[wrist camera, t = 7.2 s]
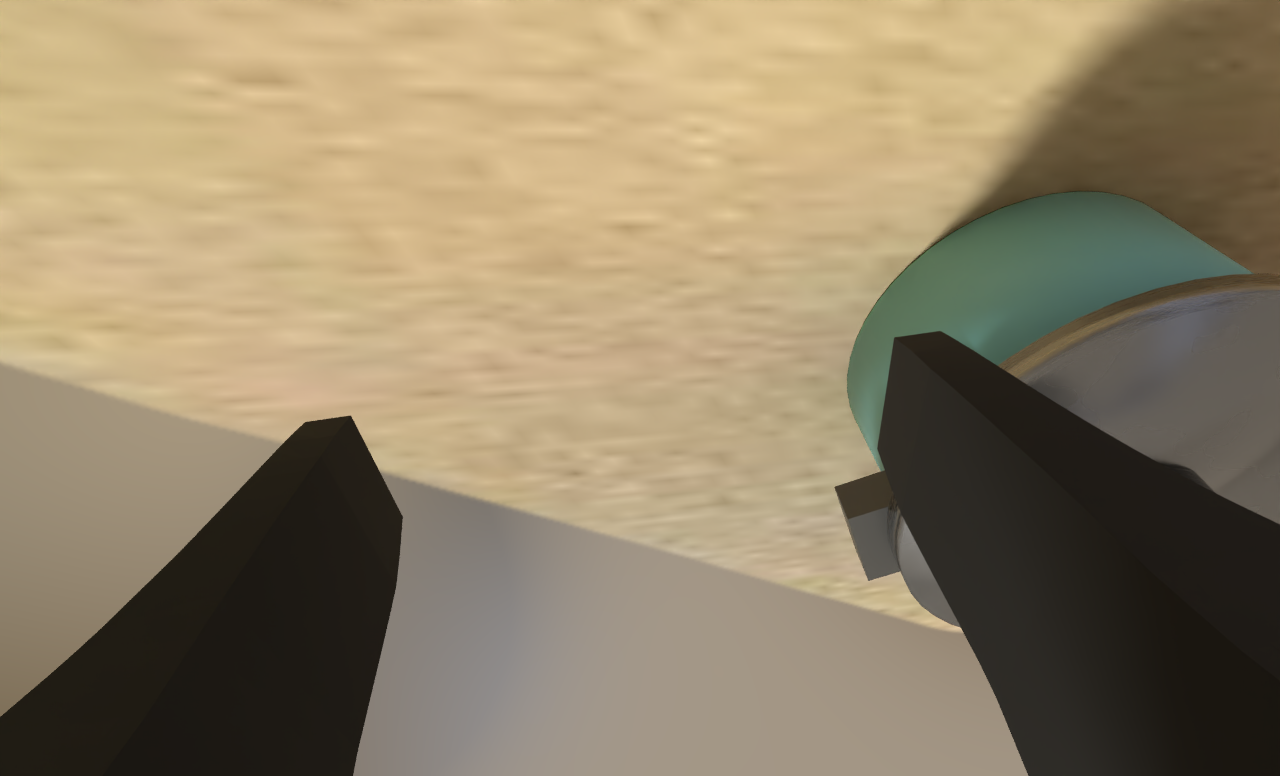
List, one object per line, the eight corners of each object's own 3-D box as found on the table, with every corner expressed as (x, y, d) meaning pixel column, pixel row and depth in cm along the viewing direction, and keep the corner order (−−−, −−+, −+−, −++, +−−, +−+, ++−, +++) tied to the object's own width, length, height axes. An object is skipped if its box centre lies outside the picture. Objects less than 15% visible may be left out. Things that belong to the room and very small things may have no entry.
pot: (1273, 102, 18) (1517, 196, 14) (1218, 390, 25) (1368, 518, 20) (762, 300, 21) (821, 436, 16) (837, 513, 27) (893, 652, 23)
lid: (1056, 228, 13) (1208, 352, 10) (1502, 318, 16) (1735, 440, 12) (817, 595, 20) (863, 733, 17) (1149, 617, 23) (1240, 741, 20)
